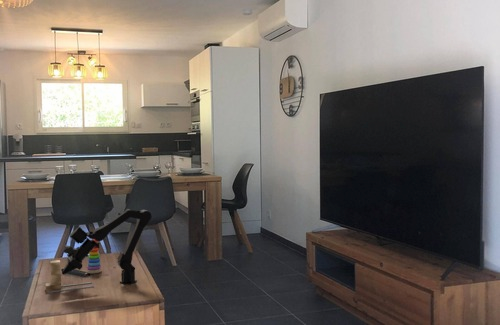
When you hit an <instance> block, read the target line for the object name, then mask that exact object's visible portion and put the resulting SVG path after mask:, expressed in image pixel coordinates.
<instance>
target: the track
mask: <svg viewBox="0 0 500 325" xmlns="http://www.w3.org/2000/svg"><path fill="white" fill-rule="evenodd" d="M90 284H93V283H92V281H89V282H83V283H72V284H65V285H61V288H64V289H61V290H56V291H48V292H46V294H51V293H57V292H65V291H67V292H68V291H74V290H81V289H82V290H83V289H89V288H94V285H90ZM83 285H88V286H83ZM75 286H80V287H75ZM66 287H71V288H66ZM73 287H74V288H73ZM65 288H66V289H65Z"/></svg>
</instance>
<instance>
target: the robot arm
mask: <svg viewBox="0 0 500 325" xmlns="http://www.w3.org/2000/svg"><path fill="white" fill-rule="evenodd" d="M130 218H132V219H136V224H135V227H134V229H133V231H132V234H131V235H130V238H129V240H128V243H127V244H126V247H125V249H124V251H120V252H119V255H118V257H117V258H116V260H117V265H118V266H119V268H121V269H122V270H121V276H120V278H121V281H119V283H120V284H125V285H131V284H133V283H137V282H138V280H137V279H136V267H135V266H134V264H132V261H133V254H134V252H135V249H136V247H137V245H138V242H139V240H140V238H141V236H142V233H143V231H144V229H145V227H147V225H148V224H149V223H150V222H151V220H152V213H151V212H150V211H149V210H146V209H141V210H136V209H129V208H126V209H125V210H124V211H122V212H121V213H119V215H117V216H116V217H114V218H113V219H112V220H110V221H109V222H107V223H106V224H103V225H100V226H98V227H97V228H94V229H93V230H92V231H88V232H86V231H85V230H83V228H82V227H81V226H78V227H77V228H76V229H74V230H73V231H72V232H71V233H70V234H69V236H68V237H69V238H70V239H72V240H73V242H75V243H77V244H78V245H79V244H81V245H80V246H77V247H73V246H71V245H67V244H65V245H64V246H63V249H62V252H63V253H64V254H66V256H67V260H66V262H67V263H66V265H65V266H64V268H63V270H62V271H61V275H66V274H67V273H69V272H70V273H71V272H72V271H75V270H77V269H78V270H79V271H80V270H81V269H82V268H83V261H84V259H86V258H87V257H89V253H90V252H91V251H92V250H93V248H94V247H95V246H96V247H97V248H99V249H100V242H102V241H103V240H104V239H105V238H106V237H108V235H109V234H110V233H111V232H112V231H113V230H115V228H118V227H119V226H120V225H121V224H123V223H124V222H126V221H127V220H129V219H130ZM93 239H95V240H96V241H98V242H95V241H94V240H93ZM68 257H69V258H68Z"/></svg>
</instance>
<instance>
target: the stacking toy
mask: <svg viewBox="0 0 500 325" xmlns="http://www.w3.org/2000/svg"><path fill="white" fill-rule="evenodd" d="M93 240H94V241H95V242H99V241H96V240H95V239H93ZM99 250H100V247H99V248H97V247H96V246H95V247H94V248H93V250H92V251H91V252H90V253H89V254H88V259H87V261H88V262H87V266H86V268H87V269H86V272H87V273H88V274H99V273H101V272H102V265H101V264H102V263H101V258H100V252H99Z"/></svg>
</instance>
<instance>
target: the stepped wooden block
mask: <svg viewBox="0 0 500 325" xmlns="http://www.w3.org/2000/svg"><path fill="white" fill-rule="evenodd" d="M49 264H50V265H49V266H50V267H49V268H50V270H49V271H50V282H46V283H45V293H47V292H48V291H56V290H62V287H61V286H62V271H61V269H62V268H61V266H62V265H61V260H60V259H58V260H50V261H49Z"/></svg>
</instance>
